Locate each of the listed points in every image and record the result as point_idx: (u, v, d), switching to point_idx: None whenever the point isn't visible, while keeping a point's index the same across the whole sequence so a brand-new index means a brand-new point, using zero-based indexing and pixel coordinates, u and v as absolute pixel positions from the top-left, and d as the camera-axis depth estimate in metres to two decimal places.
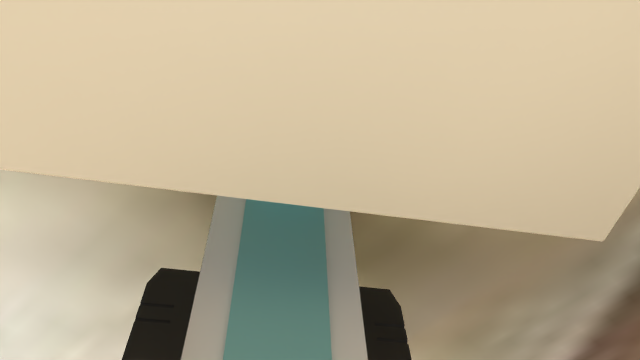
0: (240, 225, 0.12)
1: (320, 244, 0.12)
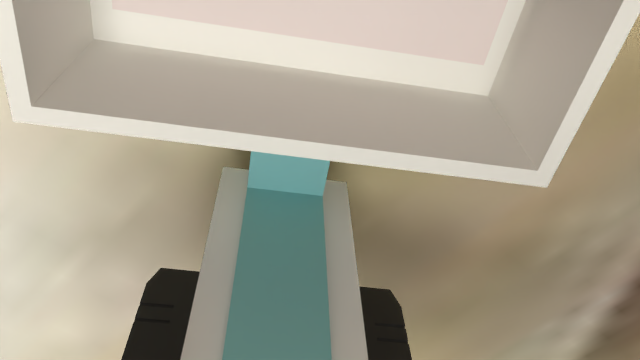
0: (240, 225, 0.12)
1: (320, 243, 0.12)
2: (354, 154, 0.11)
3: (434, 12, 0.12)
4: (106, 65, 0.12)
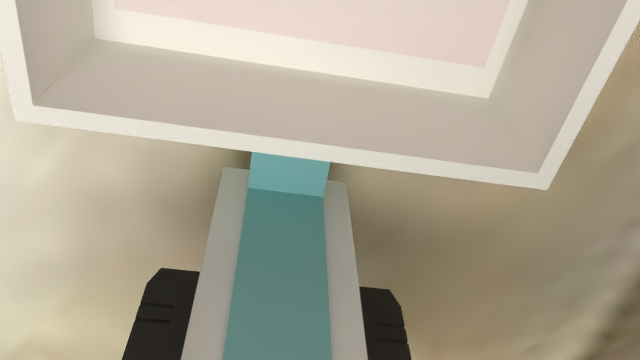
0: (240, 225, 0.12)
1: (320, 244, 0.12)
2: (355, 155, 0.11)
3: (436, 14, 0.12)
4: (108, 64, 0.12)
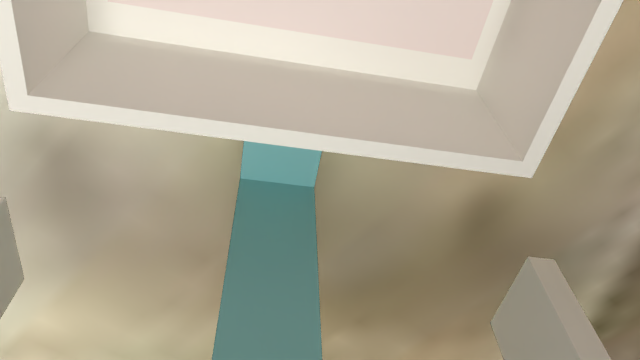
0: None
1: (311, 232, 0.12)
2: (344, 144, 0.11)
3: (423, 7, 0.12)
4: (101, 56, 0.12)
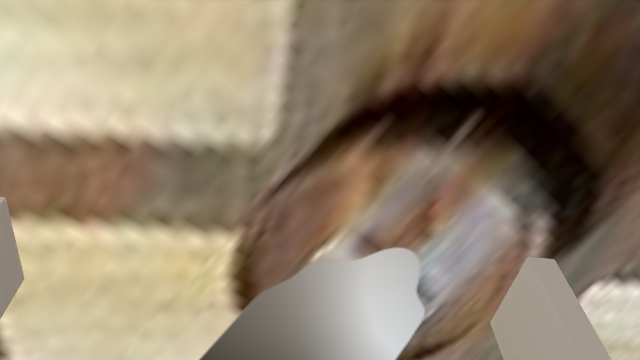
0: None
1: None
2: None
3: None
4: None
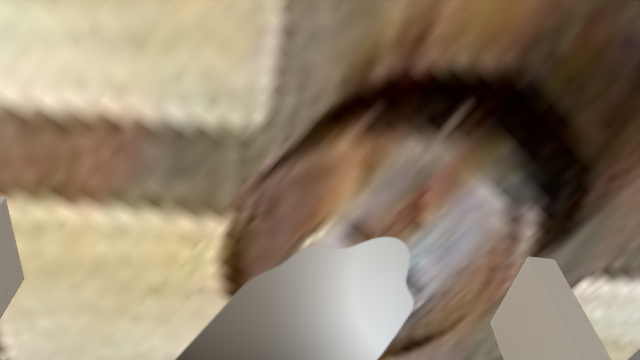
0: None
1: None
2: None
3: None
4: None
